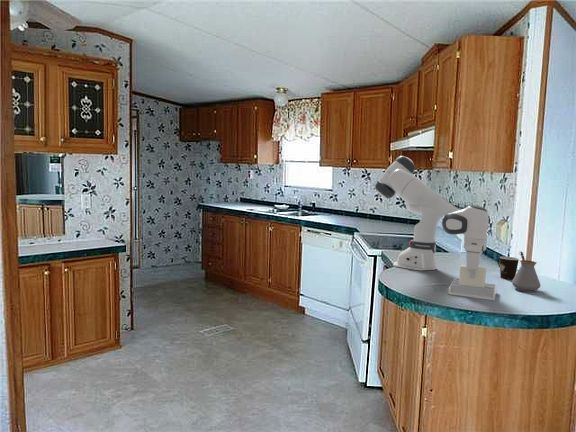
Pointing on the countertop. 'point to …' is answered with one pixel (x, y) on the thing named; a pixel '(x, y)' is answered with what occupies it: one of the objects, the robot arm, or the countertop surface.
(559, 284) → the countertop surface
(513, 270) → the coffee mug
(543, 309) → the countertop surface
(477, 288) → the dish rack
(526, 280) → the coffee pot
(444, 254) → the countertop surface
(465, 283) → the ceramic tile
